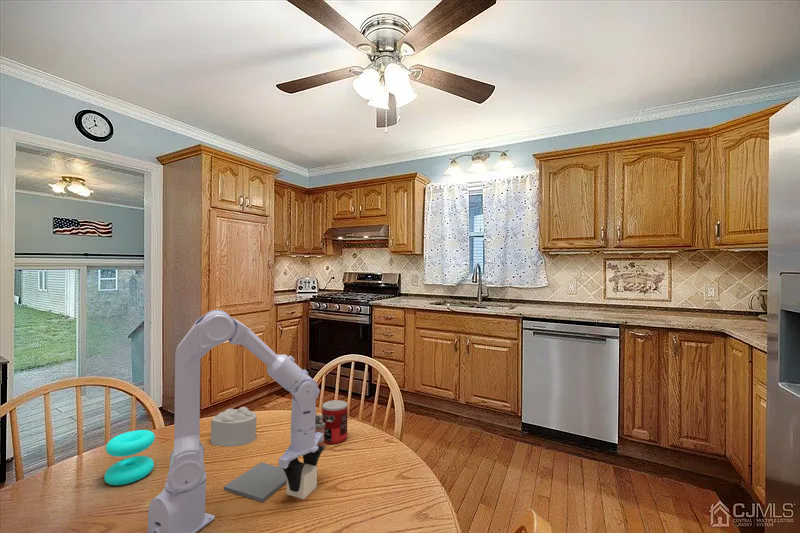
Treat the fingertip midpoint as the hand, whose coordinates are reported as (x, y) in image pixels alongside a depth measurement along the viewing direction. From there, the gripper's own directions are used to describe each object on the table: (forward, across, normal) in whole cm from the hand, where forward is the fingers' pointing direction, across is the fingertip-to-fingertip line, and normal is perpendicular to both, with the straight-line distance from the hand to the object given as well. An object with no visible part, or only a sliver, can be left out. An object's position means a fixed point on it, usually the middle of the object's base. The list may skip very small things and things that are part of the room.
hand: (301, 483), depth 82 cm
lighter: (+2, +19, +10) cm, 22 cm away
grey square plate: (+2, -1, +12) cm, 12 cm away
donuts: (+2, -12, +44) cm, 46 cm away
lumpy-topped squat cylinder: (+2, +14, +36) cm, 39 cm away
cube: (+2, 0, 0) cm, 2 cm away
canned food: (+2, +26, +8) cm, 27 cm away
